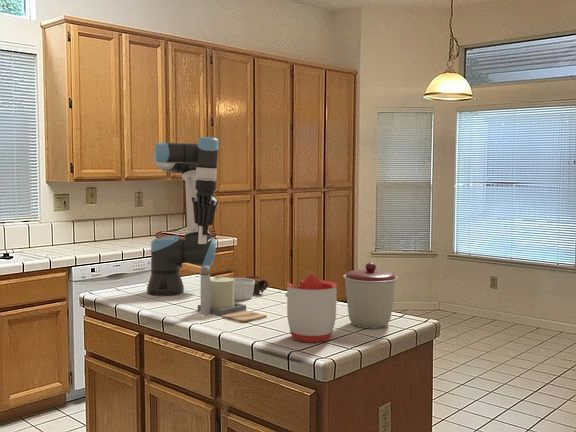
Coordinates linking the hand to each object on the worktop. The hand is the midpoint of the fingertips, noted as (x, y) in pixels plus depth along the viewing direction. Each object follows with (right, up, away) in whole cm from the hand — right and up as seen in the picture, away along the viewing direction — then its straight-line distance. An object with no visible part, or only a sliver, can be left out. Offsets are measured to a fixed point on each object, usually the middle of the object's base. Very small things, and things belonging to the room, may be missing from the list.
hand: (202, 243), depth 227 cm
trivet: (+16, -25, -12) cm, 33 cm away
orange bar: (-2, -10, -4) cm, 11 cm away
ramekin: (+12, -23, +21) cm, 33 cm away
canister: (+59, -27, -20) cm, 68 cm away
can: (+7, -25, -2) cm, 26 cm away
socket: (+7, -25, -3) cm, 25 cm away
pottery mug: (+18, -22, +30) cm, 42 cm away
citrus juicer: (+38, -28, -37) cm, 60 cm away
